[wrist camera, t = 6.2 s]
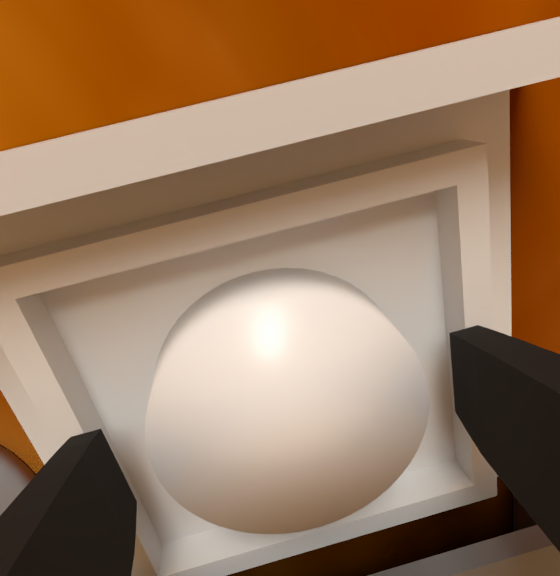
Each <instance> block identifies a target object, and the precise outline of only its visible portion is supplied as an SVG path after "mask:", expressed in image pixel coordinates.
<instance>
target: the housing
mask: <svg viewBox="0 0 560 576" xmlns="http://www.w3.org/2000/svg"><path fill="white" fill-rule="evenodd" d="M368 576H560V552H559V551H558V550H557V549H556V547H555V546H554V545H553V544H552V542H551V541H550V540H549V539H548V537H547V536H546V535H545V534H544V532H543V531H542V530H541V529H540V527H539V526H538V525H537V524H536V522H535V521H534V520H533V519H532V517H531V516H530V515H529V514H528V513H527V511H526V510H525V509H524V508H523V506H522V505H521V504H520V503H519V501H518V500H517V499H516V498H515V496H514V495H513V532H511V533H508V534H505V535H501V536H498V537H495V538H491V539H488V540H485V541H481V542H478V543H475V544H471V545H468V546H465V547H461V548H458V549H455V550H451V551H448V552H445V553H441V554H438V555H435V556H431V557H428V558H425V559H421V560H418V561H415V562H411V563H408V564H405V565H401V566H398V567H394V568H391V569H388V570H384V571H381V572H378V573H374V574H371V575H368Z"/></svg>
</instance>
